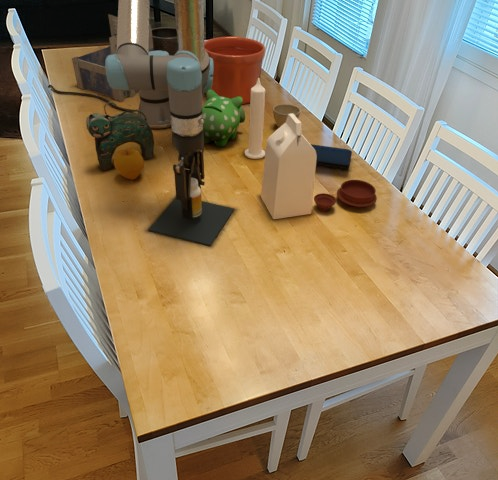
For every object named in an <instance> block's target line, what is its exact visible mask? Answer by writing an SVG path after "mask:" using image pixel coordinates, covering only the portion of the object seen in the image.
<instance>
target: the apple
mask: <svg viewBox="0 0 498 480" xmlns="http://www.w3.org/2000/svg"><path fill="white" fill-rule="evenodd" d="M113 166H114V168H115V170H116V171H117V172H118V173H119V174H120V175H121V176H122V177H123V178H125V179H127V180H131V181H132V180H135V179H137V178H138V177H139V176H140V174H141V173H142V171H143V169H144V167H145V161H144V157H143V156H142V153H140V152H139V151H138V150H137V149H134V148H123V149H121V150H119V151H118V152H116V154H115V155H114V158H113Z"/></svg>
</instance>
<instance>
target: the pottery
mask: <svg viewBox="0 0 498 480" xmlns="http://www.w3.org/2000/svg"><path fill="white" fill-rule="evenodd" d="M376 191H377V190H376V187H375V186H374V185H373V184H371V183H370V182H367V181H365V180H361V179H348V180H345V181H343V182H342V183H341V184H340V187H339V188H338V189H337V190H336V197H337V198H338V199H339V201H341V202H342V203H344V204H346V205H348V206H351V207H354V208H355V207H356V208H363V207H364V208H366V207H370V206H372V205H374V204H375V203H376V202H377V199H378V197H377V194H376ZM336 197H335V196H334V195H332V194H329V193H325V192H324V193H318V194H315V196H313V201H314V203H315V204H316V206H317V207H318V210H319V211H322V212H327V211H329V209H330V208H332V207H333V206H334V205H335V204H336V203H337V198H336Z"/></svg>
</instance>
